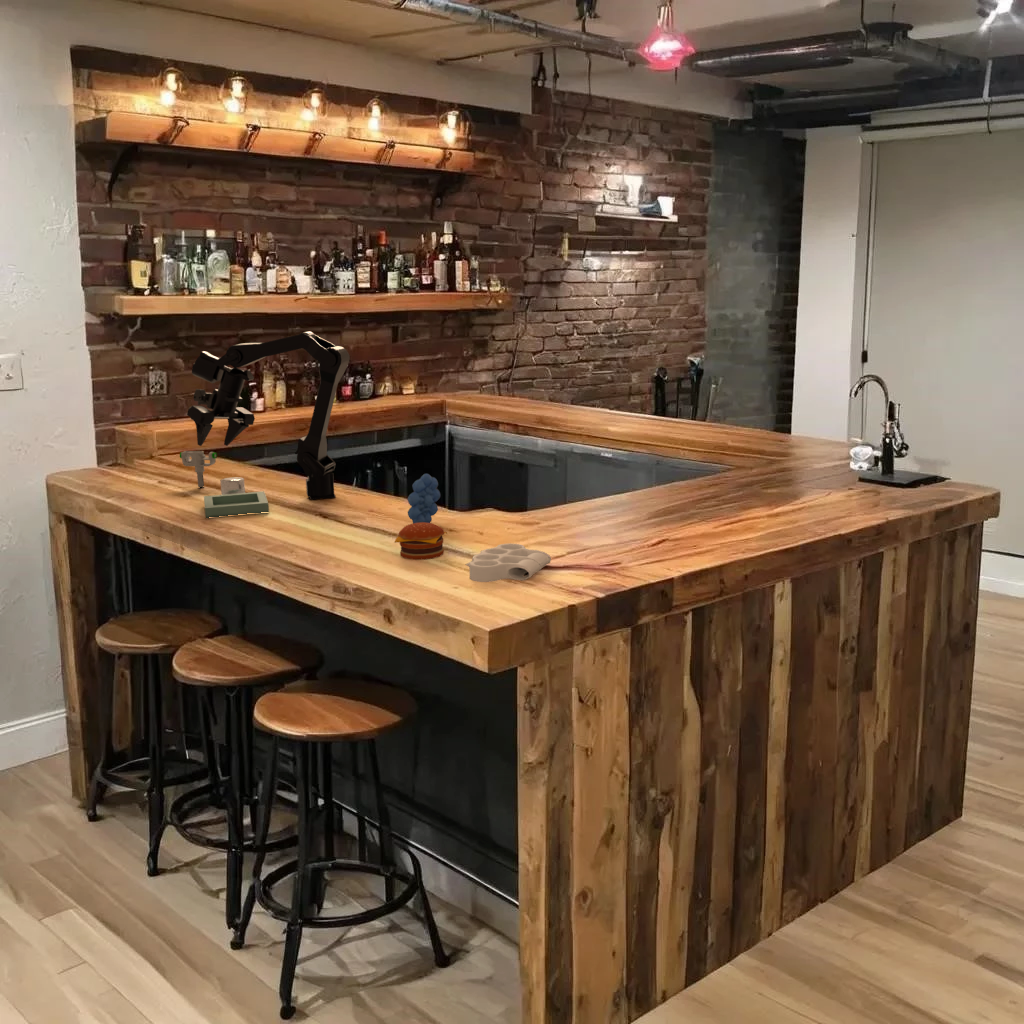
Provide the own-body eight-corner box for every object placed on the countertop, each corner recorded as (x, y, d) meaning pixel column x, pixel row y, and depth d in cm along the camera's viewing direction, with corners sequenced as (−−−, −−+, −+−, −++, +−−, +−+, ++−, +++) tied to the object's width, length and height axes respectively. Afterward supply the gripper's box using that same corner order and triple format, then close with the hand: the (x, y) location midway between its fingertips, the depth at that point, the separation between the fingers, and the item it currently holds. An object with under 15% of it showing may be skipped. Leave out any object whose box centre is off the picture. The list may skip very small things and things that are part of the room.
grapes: (423, 518, 265) (421, 468, 263) (447, 521, 262) (445, 470, 259) (395, 529, 255) (392, 477, 253) (419, 532, 252) (417, 480, 250)
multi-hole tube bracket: (523, 587, 210) (452, 581, 215) (556, 562, 226) (489, 557, 231) (523, 570, 209) (451, 564, 214) (556, 546, 225) (489, 541, 231)
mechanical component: (216, 489, 308) (212, 452, 306) (181, 488, 310) (178, 452, 308) (220, 486, 311) (217, 450, 308) (186, 486, 313) (183, 450, 310)
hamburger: (394, 560, 230) (392, 528, 229) (407, 548, 239) (405, 518, 238) (438, 561, 228) (437, 529, 227) (450, 549, 238) (448, 518, 236)
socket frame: (264, 501, 290) (264, 491, 290) (269, 513, 276) (268, 502, 276) (204, 506, 286) (203, 496, 286) (205, 518, 272) (204, 508, 272)
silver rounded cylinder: (244, 495, 299) (243, 476, 298) (246, 499, 293) (244, 480, 292) (221, 497, 297) (220, 478, 296) (222, 501, 292) (220, 482, 291)
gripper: (235, 379, 303) (218, 432, 307) (181, 376, 287) (165, 432, 291) (263, 396, 298) (246, 450, 302) (210, 393, 282) (193, 450, 286)
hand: (212, 445), depth 296 cm, fingers open, 9 cm apart
